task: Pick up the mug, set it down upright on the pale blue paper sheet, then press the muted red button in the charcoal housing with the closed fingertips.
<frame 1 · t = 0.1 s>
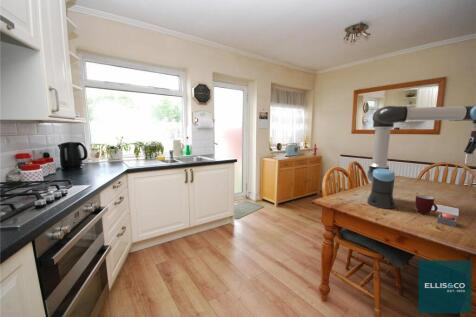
hand: (475, 165, 124), 28 cm above the table, fingers open, 13 cm apart
mug: (425, 214, 121), on the table
button housing: (446, 222, 109), on the table
button: (447, 216, 108), point 4 cm above the table, slide at 0.0 cm
paper: (444, 209, 127), on the table
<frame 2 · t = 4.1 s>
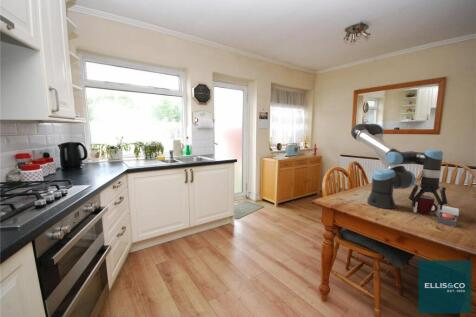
hand: (425, 213, 121), 0 cm above the table, fingers open, 10 cm apart
mug: (425, 214, 121), on the table, touching gripper
everything else where it was.
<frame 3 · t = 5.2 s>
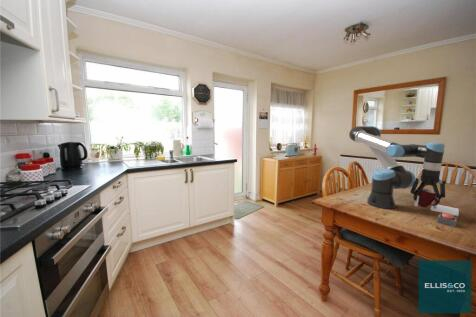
hand: (425, 206, 121), 4 cm above the table, fingers closed on mug, 8 cm apart
mug: (424, 207, 121), point 4 cm above the table, touching gripper
everything else where it was.
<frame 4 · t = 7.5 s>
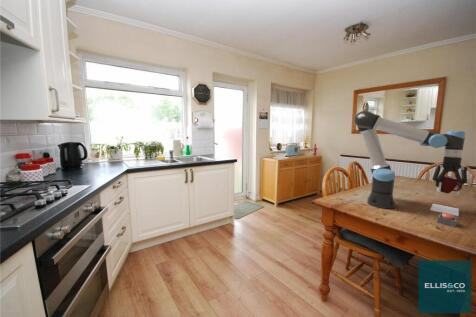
hand: (447, 192, 126), 11 cm above the table, fingers closed on mug, 8 cm apart
mug: (447, 193, 126), point 11 cm above the table, touching gripper
everything else where it was.
when the fingers open (1 cm above the table, at t = 10.0 s): mug stays where it is, resting on paper.
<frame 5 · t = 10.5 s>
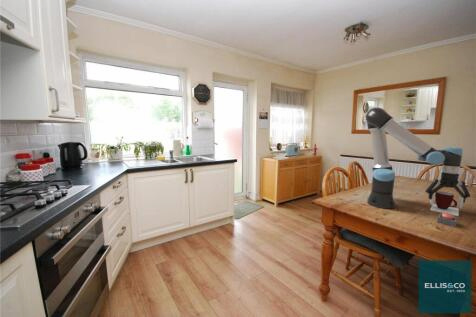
hand: (445, 205, 127), 2 cm above the table, fingers open, 13 cm apart
mug: (444, 209, 127), resting on paper
everything else where it was.
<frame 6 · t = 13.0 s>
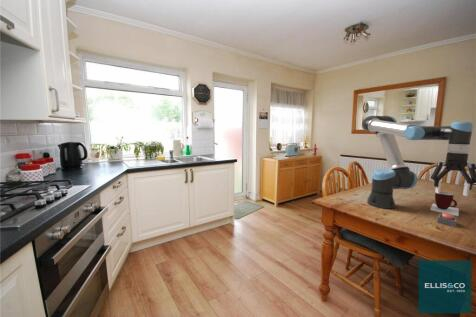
hand: (451, 194, 107), 16 cm above the table, fingers open, 10 cm apart
nothing on the table moved.
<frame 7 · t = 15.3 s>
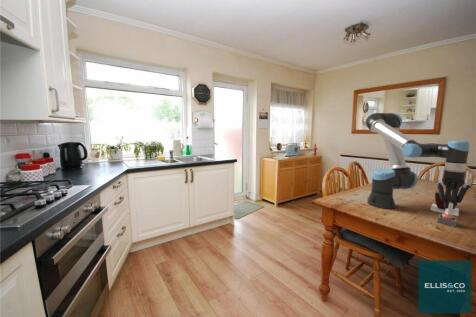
hand: (448, 214, 108), 5 cm above the table, fingers closed
button: (447, 216, 108), point 3 cm above the table, slide at 0.1 cm, touching gripper
everything else where it was.
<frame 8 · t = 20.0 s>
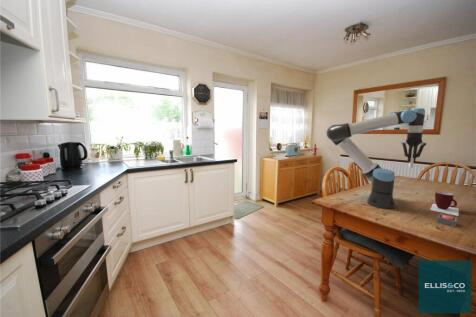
hand: (410, 167, 138), 24 cm above the table, fingers closed
button: (447, 218, 108), point 2 cm above the table, slide at 1.0 cm
everything else where it was.
at the end: mug inside the target area on the paper (0.0 cm from its centre), point 0.1 cm above the paper's base; mug tilted 0°; button slide at 1.0 cm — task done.
